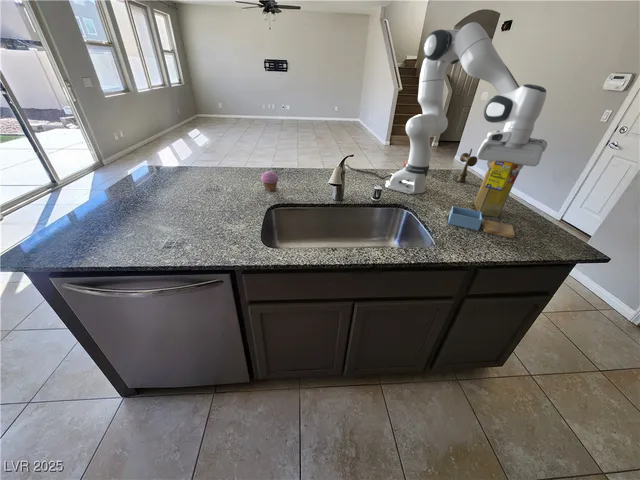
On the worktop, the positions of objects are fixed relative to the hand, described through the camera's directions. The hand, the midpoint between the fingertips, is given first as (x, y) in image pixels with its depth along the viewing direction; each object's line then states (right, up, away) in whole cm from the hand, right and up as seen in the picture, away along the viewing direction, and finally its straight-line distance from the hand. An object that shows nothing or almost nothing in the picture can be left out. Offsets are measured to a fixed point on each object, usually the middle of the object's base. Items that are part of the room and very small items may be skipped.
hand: (500, 173), depth 104 cm
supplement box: (0, -5, +3) cm, 6 cm away
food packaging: (+11, -11, +27) cm, 31 cm away
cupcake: (-97, +1, +40) cm, 105 cm away
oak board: (+6, -22, +10) cm, 25 cm away
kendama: (+17, +10, +62) cm, 65 cm away
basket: (-7, -18, +15) cm, 24 cm away
